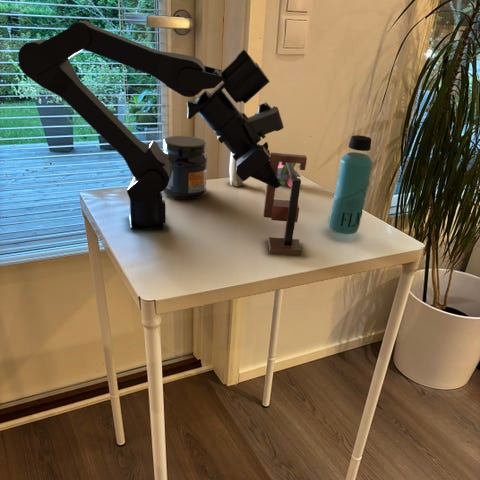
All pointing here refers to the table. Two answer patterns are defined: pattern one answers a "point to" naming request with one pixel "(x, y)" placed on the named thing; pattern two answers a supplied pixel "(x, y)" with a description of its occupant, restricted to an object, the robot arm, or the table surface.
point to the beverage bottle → (351, 187)
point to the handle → (234, 173)
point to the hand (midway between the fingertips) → (278, 185)
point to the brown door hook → (273, 206)
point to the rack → (288, 222)
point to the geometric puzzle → (285, 174)
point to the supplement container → (186, 167)
